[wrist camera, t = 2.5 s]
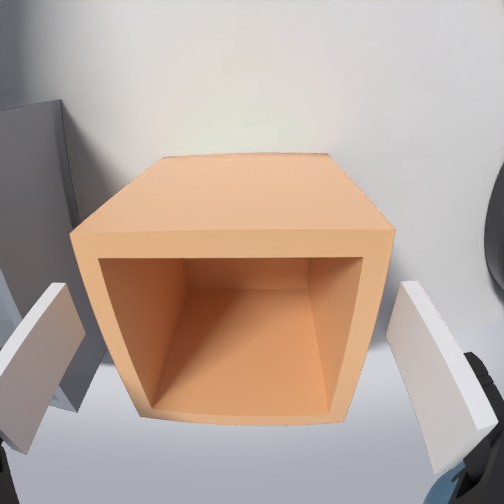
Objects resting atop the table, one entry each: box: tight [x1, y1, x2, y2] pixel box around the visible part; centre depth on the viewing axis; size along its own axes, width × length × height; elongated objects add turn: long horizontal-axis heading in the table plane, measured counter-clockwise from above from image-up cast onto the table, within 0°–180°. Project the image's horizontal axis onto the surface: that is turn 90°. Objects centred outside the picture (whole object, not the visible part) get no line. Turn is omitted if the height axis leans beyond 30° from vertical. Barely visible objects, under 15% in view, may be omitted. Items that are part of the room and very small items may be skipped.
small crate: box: [70, 153, 395, 426], centre depth 15 cm, size 9×9×10 cm
